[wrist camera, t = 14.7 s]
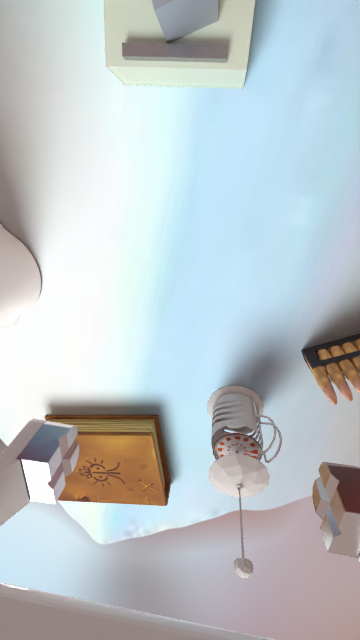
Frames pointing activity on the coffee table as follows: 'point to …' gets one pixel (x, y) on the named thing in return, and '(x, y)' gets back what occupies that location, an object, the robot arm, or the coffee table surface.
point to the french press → (238, 449)
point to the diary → (117, 460)
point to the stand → (177, 47)
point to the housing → (184, 16)
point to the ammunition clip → (335, 365)
